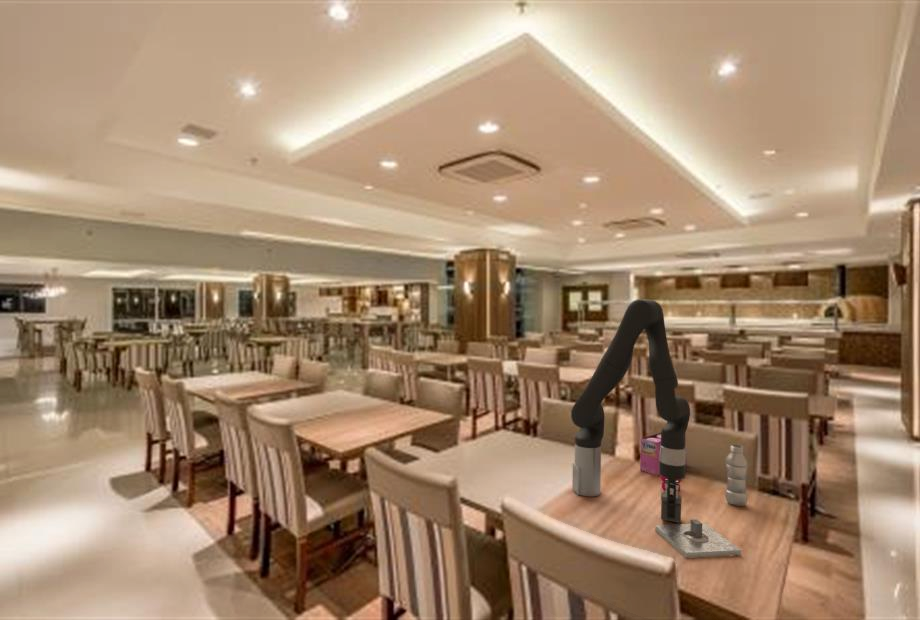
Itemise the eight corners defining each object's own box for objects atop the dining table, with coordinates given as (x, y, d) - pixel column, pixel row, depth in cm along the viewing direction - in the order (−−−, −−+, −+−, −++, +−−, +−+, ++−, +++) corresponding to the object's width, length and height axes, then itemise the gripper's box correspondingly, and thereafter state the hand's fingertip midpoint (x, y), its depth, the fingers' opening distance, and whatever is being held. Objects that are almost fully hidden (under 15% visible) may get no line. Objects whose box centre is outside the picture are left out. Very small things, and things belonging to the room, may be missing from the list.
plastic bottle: (739, 510, 160) (740, 450, 159) (720, 502, 166) (721, 444, 165) (751, 506, 163) (752, 447, 162) (732, 499, 169) (733, 442, 168)
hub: (685, 558, 129) (686, 536, 129) (655, 530, 145) (655, 510, 145) (741, 555, 130) (741, 533, 130) (705, 528, 146) (705, 508, 146)
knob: (681, 523, 147) (682, 499, 147) (660, 519, 150) (660, 495, 149) (681, 515, 153) (681, 492, 153) (660, 511, 155) (661, 488, 155)
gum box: (671, 459, 211) (671, 429, 211) (688, 464, 205) (689, 433, 205) (639, 470, 197) (639, 437, 197) (657, 476, 191) (657, 442, 190)
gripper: (686, 469, 143) (684, 525, 143) (685, 455, 156) (683, 507, 156) (658, 465, 146) (657, 520, 146) (660, 452, 159) (658, 502, 159)
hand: (670, 513), depth 151 cm, fingers closed on knob, 6 cm apart
